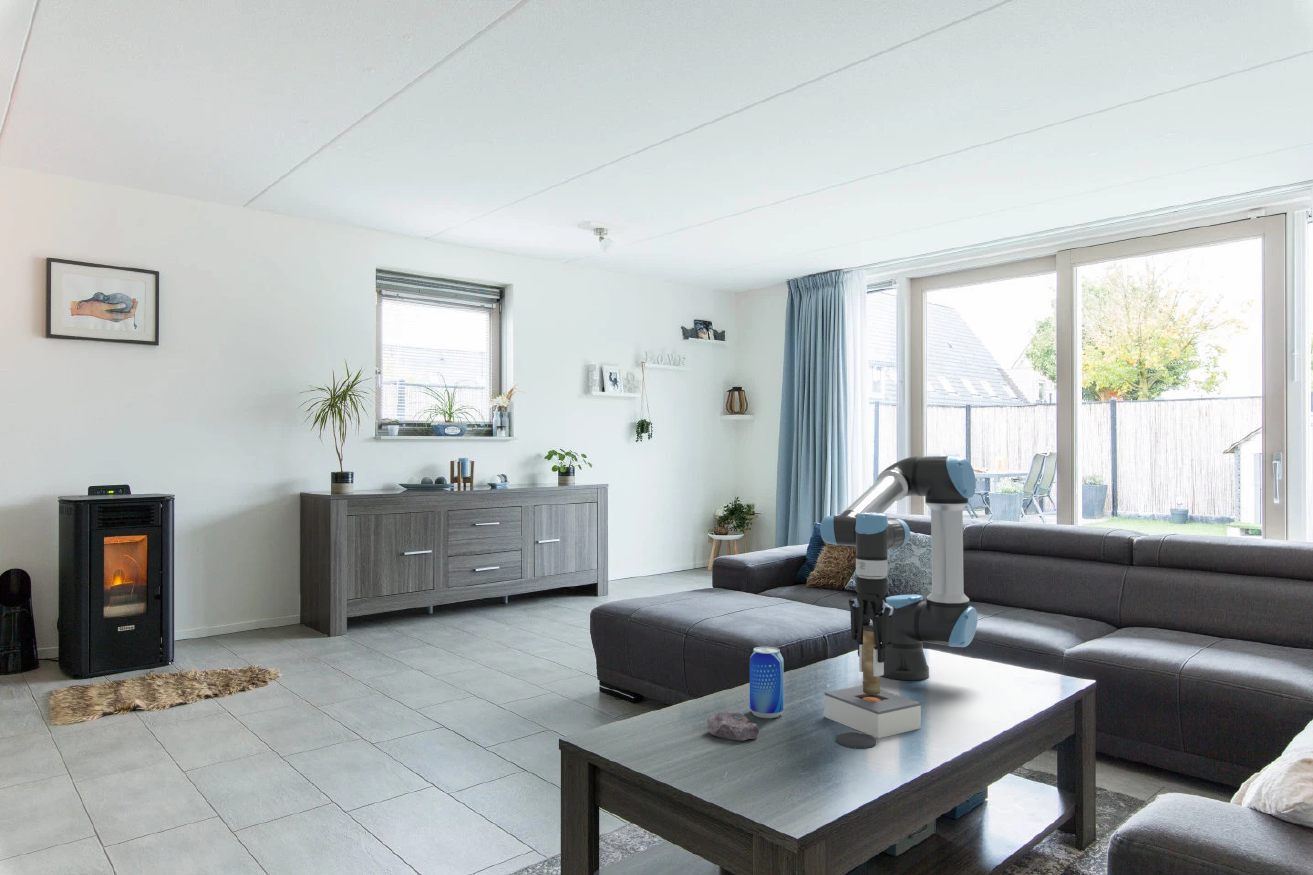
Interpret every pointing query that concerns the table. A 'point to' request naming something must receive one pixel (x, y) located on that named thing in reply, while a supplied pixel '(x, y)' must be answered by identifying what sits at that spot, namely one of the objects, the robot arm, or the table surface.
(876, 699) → the breaker button
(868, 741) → the pad
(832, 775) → the table surface
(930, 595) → the robot arm
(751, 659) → the beer can
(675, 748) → the table surface
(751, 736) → the rock
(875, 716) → the box
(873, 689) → the stylus
